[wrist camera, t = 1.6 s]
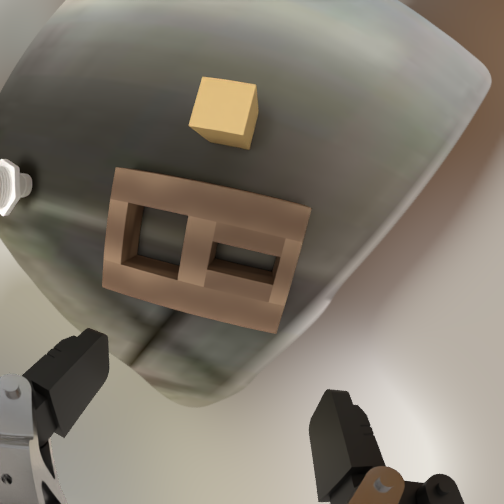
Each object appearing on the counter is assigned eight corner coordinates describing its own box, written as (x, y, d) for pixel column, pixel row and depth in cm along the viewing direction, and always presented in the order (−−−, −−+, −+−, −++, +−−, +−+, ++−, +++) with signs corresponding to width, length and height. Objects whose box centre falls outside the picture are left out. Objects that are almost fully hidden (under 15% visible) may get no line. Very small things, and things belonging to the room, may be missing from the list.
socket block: (134, 168, 27) (115, 167, 23) (305, 205, 27) (311, 208, 23) (119, 275, 30) (102, 287, 26) (274, 315, 30) (276, 333, 26)
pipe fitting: (7, 184, 28) (-32, 188, 20) (31, 150, 27) (-11, 148, 19) (21, 219, 29) (-19, 229, 21) (47, 186, 28) (3, 191, 20)
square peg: (219, 105, 25) (202, 76, 18) (258, 112, 25) (256, 84, 18) (209, 142, 26) (188, 125, 18) (249, 149, 26) (243, 135, 18)
